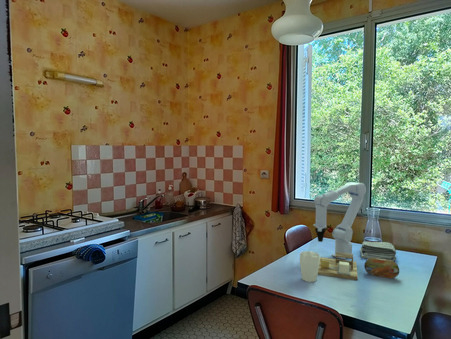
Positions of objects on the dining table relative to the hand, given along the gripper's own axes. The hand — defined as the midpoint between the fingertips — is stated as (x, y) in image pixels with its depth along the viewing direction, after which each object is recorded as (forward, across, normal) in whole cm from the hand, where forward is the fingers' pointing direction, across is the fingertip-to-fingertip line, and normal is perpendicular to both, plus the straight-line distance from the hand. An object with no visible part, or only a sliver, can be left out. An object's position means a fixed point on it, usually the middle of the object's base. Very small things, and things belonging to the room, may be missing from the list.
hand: (320, 241), depth 170 cm
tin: (+11, +12, +30) cm, 34 cm away
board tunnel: (+10, +11, +9) cm, 18 cm away
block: (+8, +19, +13) cm, 24 cm away
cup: (+11, +30, -2) cm, 32 cm away
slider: (+9, +19, +9) cm, 22 cm away
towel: (+11, -20, +31) cm, 38 cm away
